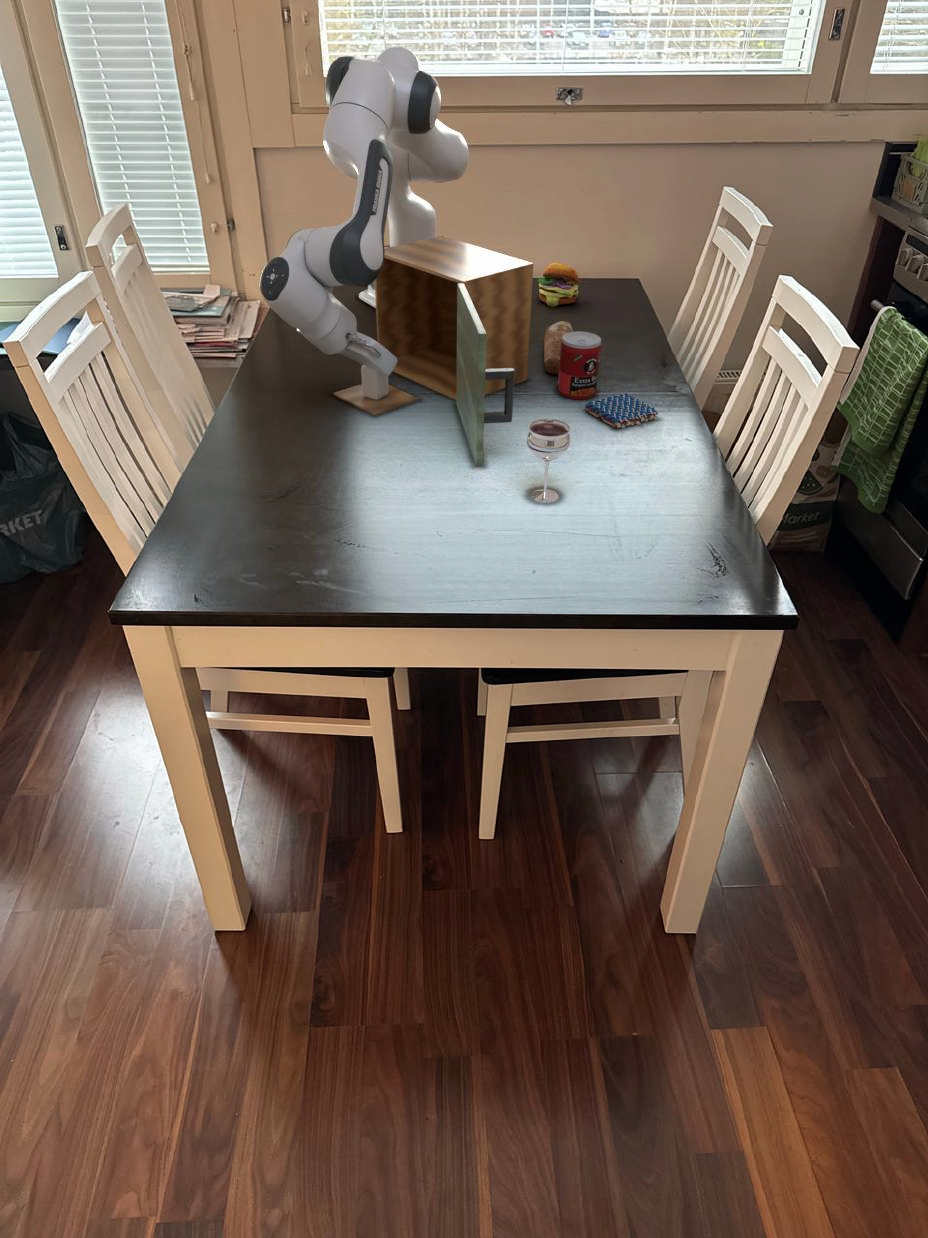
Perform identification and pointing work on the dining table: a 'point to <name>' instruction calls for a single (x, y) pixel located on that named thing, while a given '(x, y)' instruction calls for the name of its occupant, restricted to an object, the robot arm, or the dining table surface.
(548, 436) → the wineglass
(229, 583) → the dining table surface
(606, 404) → the woven mat
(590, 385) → the canned food
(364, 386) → the pepper shaker
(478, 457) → the cupboard door
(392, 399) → the coaster
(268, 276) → the robot arm
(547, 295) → the cheeseburger
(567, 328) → the bread
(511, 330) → the cupboard
